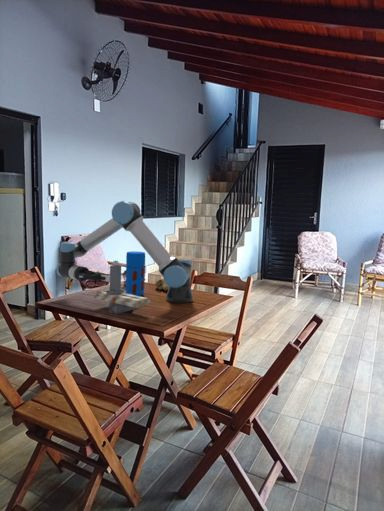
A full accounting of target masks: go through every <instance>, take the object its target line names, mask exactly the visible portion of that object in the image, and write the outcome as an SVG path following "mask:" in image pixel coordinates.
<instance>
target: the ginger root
mask: <svg viewBox="0 0 384 511" xmlns="http://www.w3.org/2000/svg"><path fill="white" fill-rule="evenodd" d="M154 286H155V287H157V289H158V290H159V291H161V290H164V291H168V290H169V287H170V286H168V285H167V284H166V283H165V281H164V278H160V279H158V280H155V285H154Z"/></svg>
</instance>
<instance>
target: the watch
mask: <svg viewBox="0 0 384 511" xmlns="http://www.w3.org/2000/svg"><path fill="white" fill-rule="evenodd" d="M122 278H123V286H124V287H126V269H125V270H124V271H123V272H122Z"/></svg>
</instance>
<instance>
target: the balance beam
mask: <svg viewBox="0 0 384 511" xmlns="http://www.w3.org/2000/svg"><path fill="white" fill-rule="evenodd" d="M106 290H107V289H103V291H102V290H98V291H96V294H94V296H93V299H97V300H100V301H105V302H108V313H110V314H114V315H119V314H122V313H125V312H129V311H132V310H135V308H136V309H137V308H141V307H144V306H148V305H151V300H150V299H149V298H148V297H143V296H135V295H131V294H126V292H122V293H119V295H117V294H114V295H111V294H106Z"/></svg>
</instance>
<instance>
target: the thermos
mask: <svg viewBox="0 0 384 511" xmlns="http://www.w3.org/2000/svg"><path fill="white" fill-rule="evenodd" d="M125 256H126V259H125V270H126V278H125V279H126V286H125V293H126V294H131V295H135V296H140V297H143V296H144V295H145V280H146V278H145V277H146V251H145V252H144V251H135V250H133V251H127V252H126V255H125Z"/></svg>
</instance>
